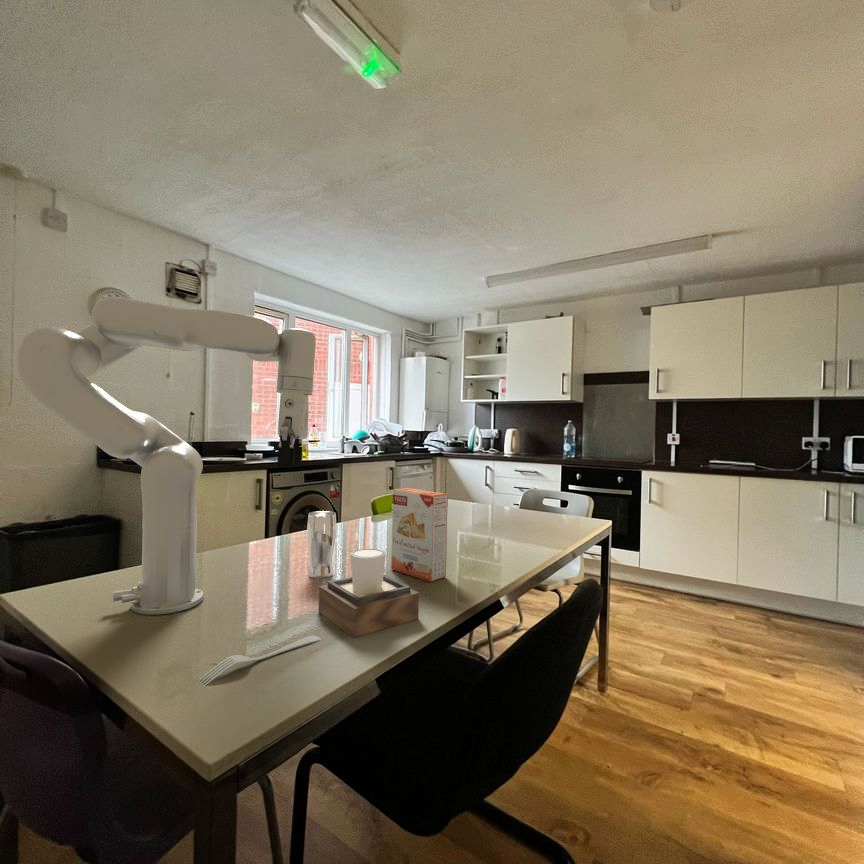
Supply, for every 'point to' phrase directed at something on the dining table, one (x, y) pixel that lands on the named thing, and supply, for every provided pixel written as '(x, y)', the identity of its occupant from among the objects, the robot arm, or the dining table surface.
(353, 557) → the white cylinder
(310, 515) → the beer glass
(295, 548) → the dining table surface
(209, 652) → the dining table surface
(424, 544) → the cracker box
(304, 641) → the fork
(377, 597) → the display plinth
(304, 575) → the dining table surface
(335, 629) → the dining table surface
